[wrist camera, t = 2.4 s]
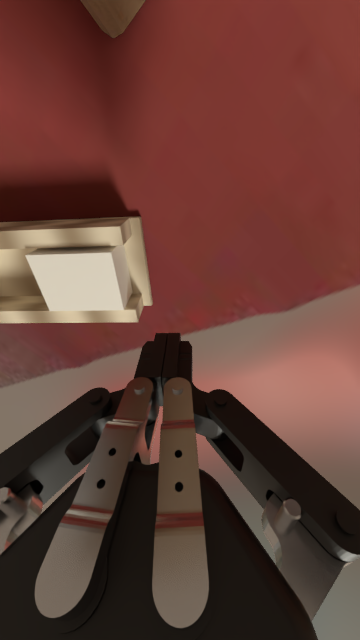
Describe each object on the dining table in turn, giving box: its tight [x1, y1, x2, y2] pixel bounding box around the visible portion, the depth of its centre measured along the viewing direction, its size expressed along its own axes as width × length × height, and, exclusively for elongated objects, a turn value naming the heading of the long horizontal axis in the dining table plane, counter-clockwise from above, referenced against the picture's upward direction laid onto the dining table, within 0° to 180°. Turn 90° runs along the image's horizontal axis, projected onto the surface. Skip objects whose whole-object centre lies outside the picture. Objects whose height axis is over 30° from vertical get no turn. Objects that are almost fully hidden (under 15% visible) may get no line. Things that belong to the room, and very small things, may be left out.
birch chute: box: [0, 216, 153, 323], centre depth 24 cm, size 26×10×6 cm, turn 93°
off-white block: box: [25, 245, 133, 311], centre depth 24 cm, size 8×6×4 cm
